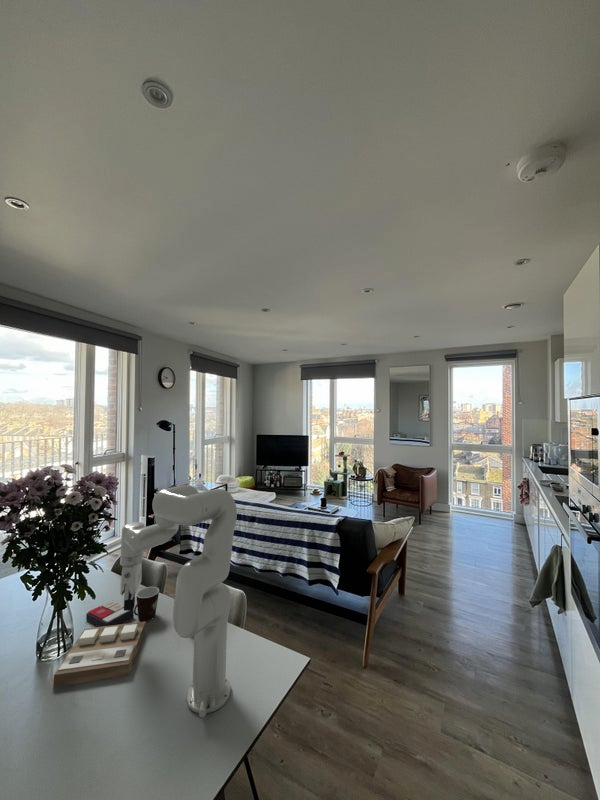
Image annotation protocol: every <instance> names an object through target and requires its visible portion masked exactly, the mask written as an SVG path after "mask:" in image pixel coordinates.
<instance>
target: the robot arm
mask: <svg viewBox="0 0 600 800" xmlns="http://www.w3.org/2000/svg"><path fill="white" fill-rule="evenodd" d="M151 504H152V505H151V506H152V507H151V508H152V511H153V513H154V521H155V524H152V525H147V526H145V524H144V523H143V522H139V521H135V522H134V521H133V522H132V521H131V522H128V523H126V524H124V525H123V527H122V529H121V542H120V561H119V564H120V566H122V570H121V576H120V577H121V578H120V595H121V596H123V595H124V596H123V604H124V611H127V610H133V609H134V608H135V606H136V605H135V602H136V594H137V592H138V591H139V590H138V589H139V587H140V585H141V584H142V576H143V575H142V569H143V568H142V566H143V565H142V563H143V561H144V553H145V551H146V550H149V549H152V548H155V547H157V546H159V545H163V544H164V543H165V544H166V543H167V542H168V541H169V540H170V539H171V538H172V537H174V536H175V535H176V534H177V532H178V530H179V527H180V526H183V527H191V526H195V525H198V524H201V523H204V522H206V521H209V520H211V523H210V524H209V525H208V528H207V530H206V532H205V534H204V537H203V547H202V552H201V554H200V555H198V556H197V557H195V558H193V559H191V560H188V561H187V562H186V563H184V564H183V566H182V567H181V568H180V569H179V571H178V574H177V577H176V583H175V590H174V600H173V602H174V603H173V607H172V608H173V610H172V623H173V628H174V630H175V632H176V634H177V635H178V636H179V637H180V638H184V639H190V638H193V637H194V638H193V639H194V640H193V661H192V684H191V685H190V686H189V688H188V690H187V693H186V705H187V707H188V709H190V710H191V711H192V712H194V713H197V714H198V716H199V717H200V718H205V716H207V714H209V713H214V712H215V711H217V710H219V709H220V708H222V707H223V706H224V705H225V704H226V703H227V702H228V700H229V698H230V696H231V690H232V689H231V688H232V687H231V684H230V681H229V679H228V678H226V676H227V675H226V673H227V668H226V667H227V637H228V622H229V615H230V611H231V610H230V609H231V604H232V595H231V592H230V589H229V587H228V586H227V585H226V584H224V583H223V582H224V581H225V580H226V579H228V577H229V574H230V568H231V558H232V552H233V540H234V539H233V538H234V533H235V529H236V523H237V517H238V516H237V515H238V514H237V513H238V509H237V505H236V501H235V499H234V497H233V496H232V495H231V493H230V492H228V491H227V490H225V489H220V488H219V489H218V488H217V489H215V488H214V489H209V490H206V491H202V492H199V491H198V489H197V488H196V487H194V486H193V485H190V484H183V485H177V486H171V487H168V488H164V489H161V490H160V491H158V492H157V493H156V494H155V496H153V499H152V503H151Z"/></svg>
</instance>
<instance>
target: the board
mask: <svg viewBox="0 0 600 800" xmlns="http://www.w3.org/2000/svg"><path fill="white" fill-rule="evenodd" d="M133 624H137V634H136V636H135V638H134V639H127V640H120V638H121V632H122V630H123V628H124V626H125V625H133ZM116 626H118V635H117V637H116V639H115V641H111V642H104V643H100V636H101V634H102V632H103V630H104V629H105V628H108V627H116ZM92 629H98V638H97V639H96V641H95V643H94V644H88V645H81V646H79V639H80V637H81V635H82V634H83V632H84V631H85V630H92ZM145 633H146V621H145V622H140V621H139V622H138V621H137V622H130V623H123V624H120V625H112V626H103V627H97V626H95V627H87V628H84V629H83V630H82V632H81V634H80V635H79V636H78V639H77V640H76V641H75V643H74V644H73V646H72V647H71V649H70V650H69V652H68V653H67V654H66V656H65V658H64V659H63V661H62V662H61V664H60V665H59V667H58V668H57V670H56V671H55V672H54V674H53V688H54V687H62V686H67V685H69V686H70V685H75V684H80V683H81V684H82V683H88V682H89V683H90V682H94V681H101V680H107V679H113V678H120V677H121V678H122V677H125V676H127V677H128V676H129V675H130V672H131V670H132V667H133V665H134V662H135V660H136V656H137V654H138V651H139V648H140V646H141V643H142V641H143V637H144V635H145Z"/></svg>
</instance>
